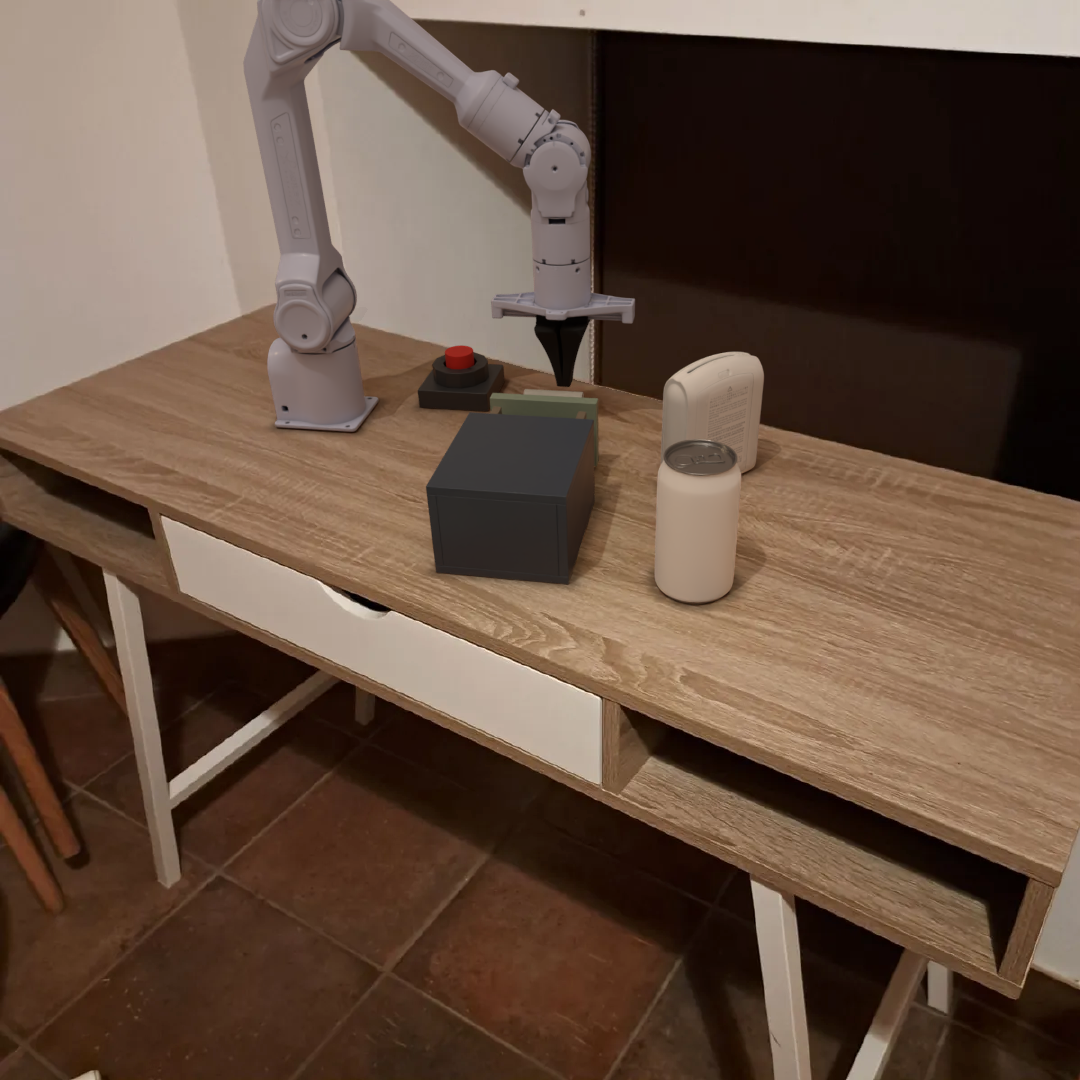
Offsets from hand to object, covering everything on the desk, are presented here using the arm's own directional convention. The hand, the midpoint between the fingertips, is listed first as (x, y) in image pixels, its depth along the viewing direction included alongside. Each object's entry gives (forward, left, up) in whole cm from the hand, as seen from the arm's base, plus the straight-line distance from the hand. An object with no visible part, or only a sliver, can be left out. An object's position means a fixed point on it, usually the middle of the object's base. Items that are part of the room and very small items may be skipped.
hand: (564, 383), depth 107 cm
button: (-13, +5, -1) cm, 14 cm away
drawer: (0, -14, -4) cm, 14 cm away
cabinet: (0, -23, -4) cm, 23 cm away
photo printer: (+16, -10, -5) cm, 19 cm away
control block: (-13, +5, -4) cm, 15 cm away
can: (+16, -28, -5) cm, 33 cm away
